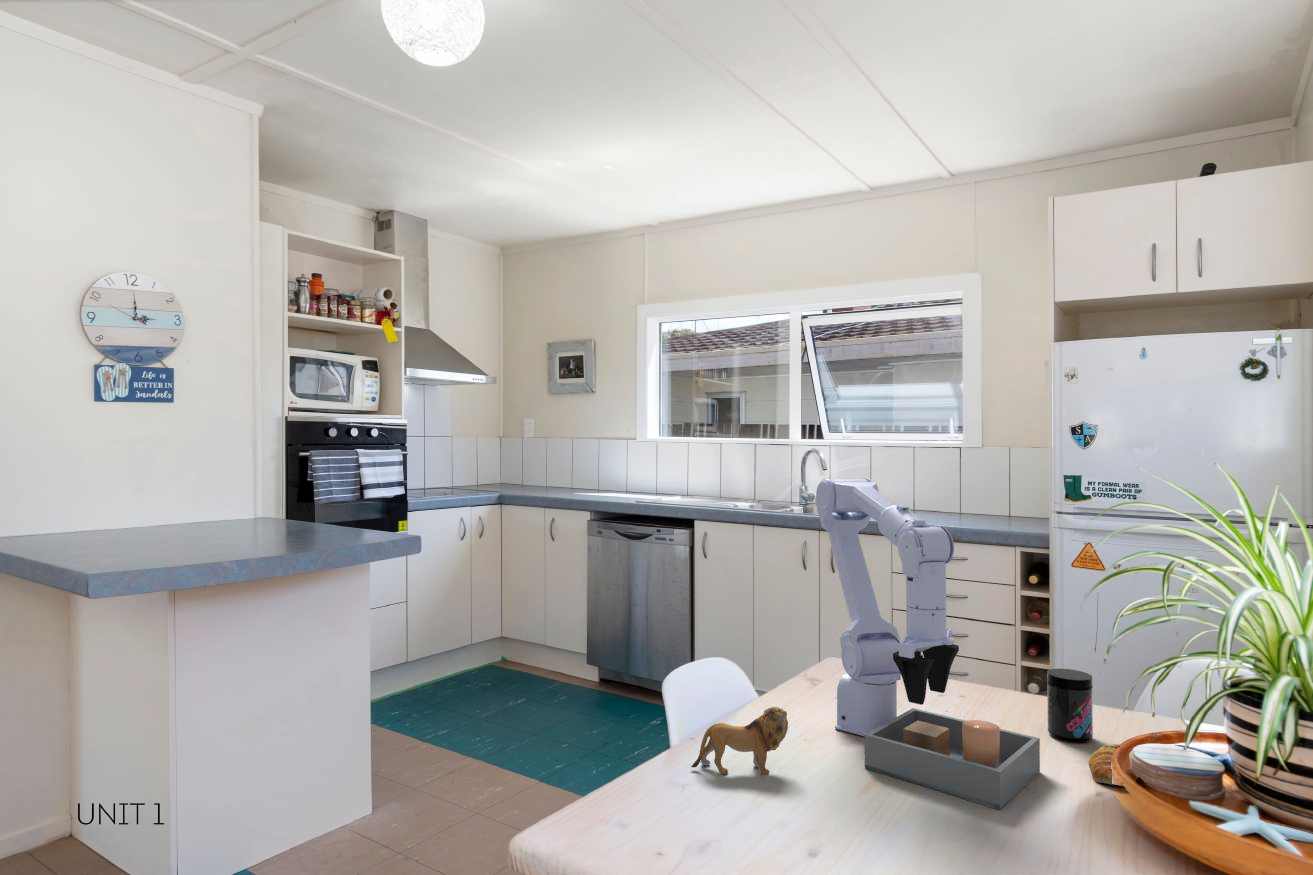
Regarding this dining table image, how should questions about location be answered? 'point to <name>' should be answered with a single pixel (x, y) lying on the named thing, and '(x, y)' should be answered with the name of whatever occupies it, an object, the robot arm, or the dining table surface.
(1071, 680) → the supplement container
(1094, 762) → the pastry
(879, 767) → the tote
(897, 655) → the robot arm
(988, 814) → the dining table surface
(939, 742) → the walnut block
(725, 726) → the lion figurine
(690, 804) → the dining table surface
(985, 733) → the terracotta cylinder
